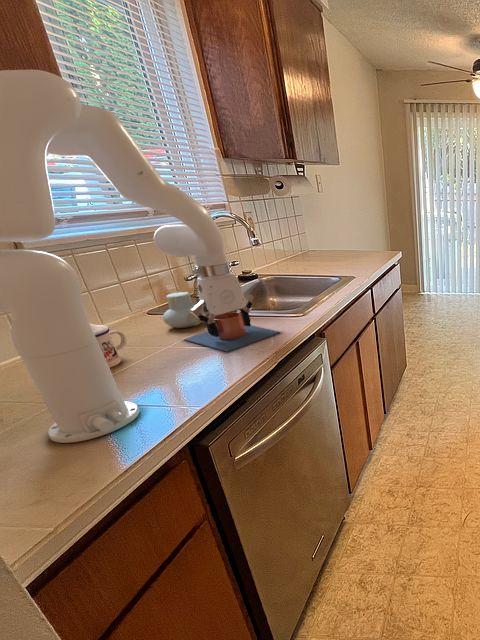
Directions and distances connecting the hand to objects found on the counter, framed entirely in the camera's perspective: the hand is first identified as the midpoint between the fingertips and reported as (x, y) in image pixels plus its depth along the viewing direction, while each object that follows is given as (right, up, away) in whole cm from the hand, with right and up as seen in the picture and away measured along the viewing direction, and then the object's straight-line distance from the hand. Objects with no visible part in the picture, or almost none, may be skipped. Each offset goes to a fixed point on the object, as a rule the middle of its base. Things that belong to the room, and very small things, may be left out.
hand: (231, 330), depth 115 cm
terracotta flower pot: (0, -1, +1) cm, 2 cm away
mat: (0, -2, +1) cm, 2 cm away
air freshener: (-20, +2, +11) cm, 23 cm away
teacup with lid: (-22, -10, -15) cm, 28 cm away
